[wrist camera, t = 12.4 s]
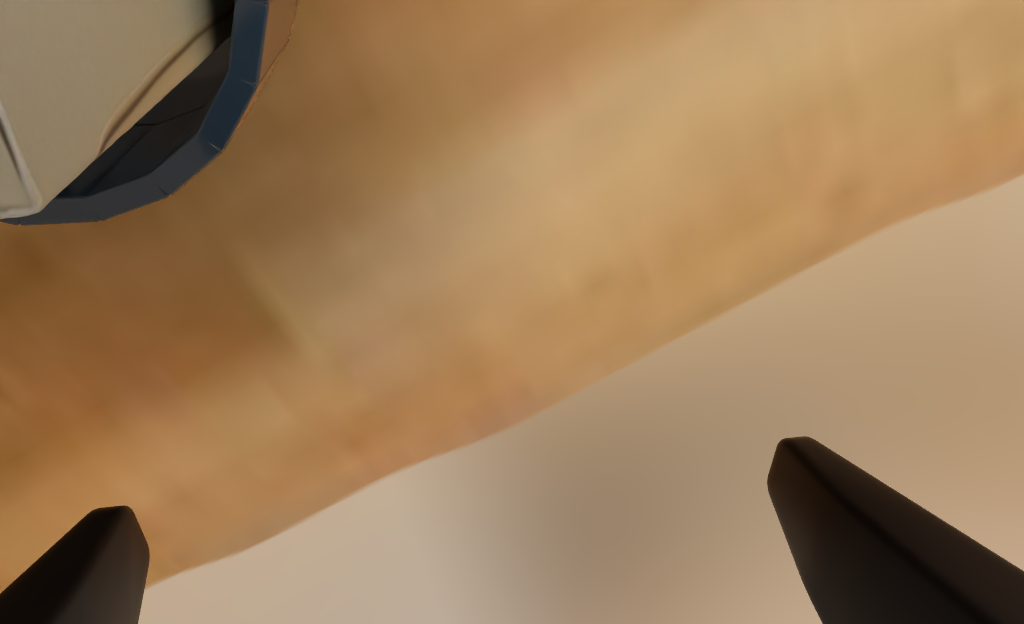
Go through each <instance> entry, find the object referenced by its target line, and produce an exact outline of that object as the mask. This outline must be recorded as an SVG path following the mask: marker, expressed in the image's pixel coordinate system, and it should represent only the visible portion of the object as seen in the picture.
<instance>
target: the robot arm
mask: <svg viewBox="0 0 1024 624" xmlns="http://www.w3.org/2000/svg"><path fill="white" fill-rule="evenodd" d="M767 485H768V491H769V495H770V497H771V500H772V503H773V505H774V508H775V511H776V513H777V516H778V519H779V521H780V524H781V526H782V529H783V531H784V534H785V537H786V539H787V542H788V545H789V547H790V550H791V553H792V555H793V558H794V561H795V563H796V566H797V569H798V571H799V574H800V576H801V579H802V581H803V584H804V586H805V588H806V590H807V593H808V595H809V597H810V599H811V601H812V603H813V605H814V607H815V609H816V611H817V613H818V615H819V617H820V619H821V621H822V623H823V624H1024V571H1023V570H1021V569H1019V568H1018V567H1016V566H1015V565H1013V564H1011V563H1010V562H1008V561H1007V560H1005V559H1004V558H1002V557H1000V556H999V555H997V554H996V553H994V552H992V551H991V550H989V549H988V548H986V547H984V546H983V545H981V544H979V543H978V542H976V541H975V540H973V539H971V538H970V537H969V536H967V535H965V534H964V533H962V532H961V531H959V530H957V529H956V528H954V527H953V526H951V525H949V524H948V523H946V522H945V521H943V520H941V519H940V518H938V517H937V516H935V515H934V514H932V513H930V512H929V511H927V510H926V509H924V508H922V507H921V506H919V505H918V504H916V503H914V502H913V501H911V500H910V499H908V498H907V497H905V496H903V495H902V494H900V493H899V492H897V491H895V490H894V489H892V488H891V487H889V486H887V485H886V484H884V483H883V482H881V481H880V480H878V479H876V478H875V477H873V476H872V475H870V474H868V473H866V472H865V471H864V470H862V469H860V468H859V467H857V466H856V465H854V464H852V463H851V462H849V461H848V460H846V459H844V458H843V457H841V456H840V455H838V454H836V453H835V452H833V451H832V450H830V449H828V448H827V447H825V446H824V445H822V444H821V443H819V442H818V441H816V440H814V439H812V438H810V437H794V438H785V439H782V440H781V441H780V442H779V443H778V445H777V448H776V451H775V455H774V458H773V461H772V465H771V468H770V471H769V474H768V480H767ZM149 557H150V556H149V547H148V544H147V541H146V539H145V537H144V535H143V532H142V530H141V528H140V525H139V523H138V521H137V519H136V516H135V514H134V512H133V511H132V509H131V508H130V507H128V506H114V507H105V508H98V509H95V510H93V511H91V512H90V513H88V514H87V515H86V516H85V517H84V518H83V519H82V520H81V521H79V522H78V523H77V524H76V525H75V526H74V527H73V528H72V529H71V530H70V531H69V532H67V533H66V534H65V535H64V536H63V537H62V538H61V539H60V540H59V541H58V542H56V543H55V544H54V545H53V546H52V547H51V548H50V549H49V550H48V551H47V552H46V553H44V554H43V555H42V556H41V557H40V558H39V559H38V560H37V561H36V562H35V563H33V564H32V565H31V566H30V567H29V568H28V569H27V570H26V571H25V572H24V573H23V574H21V575H20V576H19V577H18V578H17V579H16V580H15V581H14V582H13V583H12V584H10V585H9V586H8V587H7V588H6V589H5V590H4V591H3V592H2V593H1V594H0V624H138V620H139V615H140V609H141V604H142V599H143V593H144V588H145V583H146V577H147V572H148V567H149Z"/></svg>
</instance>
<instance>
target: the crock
mask: <svg viewBox="0 0 1024 624" xmlns="http://www.w3.org/2000/svg"><path fill="white" fill-rule="evenodd" d="M297 3H298V0H235V4H234V13H233V22H232V31H231V36H230V37H229V38H228V39H227V40H225V41H224V42H223V43H222V44H221V45H220V46H219V47H218V48H217V49H216V50H215V51H213V52H212V53H211V54H210V55H209V56H208V57H207V58H206V59H205V60H204V61H203V62H202V63H201V64H200V65H199V66H198V67H196V68H195V69H194V70H193V72H191V73H190V74H189V75H188V76H186V77H185V78H184V79H183V80H182V81H181V82H180V83H179V84H178V85H177V86H175V87H174V88H173V89H172V90H171V91H170V92H169V93H168V94H167V95H165V96H164V97H163V99H162V100H161V101H159V102H158V103H157V104H155V105H154V107H153V108H152V109H151V110H149V111H148V112H147V113H146V114H145V115H144V116H143V117H142V118H141V119H139V120H138V121H137V122H136V123H135V124H134V125H133V126H132V127H131V128H130V129H129V130H128V131H127V132H125V133H124V134H123V135H121V136H120V137H119V138H118V139H117V140H116V141H115V142H114V143H113V144H112V145H111V146H110V147H109V148H108V149H106V150H105V151H104V152H103V153H102V154H101V155H100V156H99V157H98V158H97V159H96V160H94V161H93V162H92V163H91V164H90V165H89V166H88V167H87V168H86V169H85V170H84V171H83V172H82V173H81V174H80V175H79V176H78V177H77V178H75V179H74V180H73V181H72V182H71V183H70V184H69V185H68V186H67V187H65V188H64V189H63V190H62V191H61V192H60V193H59V194H58V195H57V196H56V197H54V198H53V199H52V200H51V201H50V202H49V203H48V204H47V205H46V206H45V208H44V209H42V210H41V211H40V212H38V213H35V214H32V215H28V216H23V217H14V218H4V219H0V222H4V223H9V224H14V225H19V224H21V225H42V224H62V223H82V222H98V221H100V220H101V221H104V220H107V219H110V218H113V217H115V216H118V215H121V214H124V213H126V212H129V211H132V210H135V209H137V208H140V207H143V206H146V205H148V204H151V203H154V202H157V201H159V200H162V199H165V198H167V197H168V196H169V195H172V194H174V193H175V192H176V191H177V190H178V189H180V188H181V187H182V186H183V185H184V184H186V183H187V182H188V181H189V180H190V179H191V178H193V177H194V176H195V175H196V174H197V173H199V172H200V171H201V170H202V169H203V168H204V167H206V166H207V165H208V164H209V163H210V162H212V161H213V160H214V159H215V158H216V157H217V156H219V155H220V154H221V153H222V151H223V150H224V149H225V148H226V147H227V145H228V143H229V142H230V140H231V139H232V137H233V135H234V134H235V132H236V131H237V129H238V128H239V126H240V124H241V123H242V121H243V120H244V118H245V116H246V115H247V113H248V112H249V110H250V109H251V107H252V105H253V104H254V102H255V101H256V99H257V97H258V96H259V94H260V93H261V91H262V90H263V88H264V86H265V84H266V82H267V80H268V79H269V77H270V75H271V73H272V71H273V69H274V68H275V66H276V64H277V63H278V60H279V58H280V56H281V54H282V53H283V51H284V49H285V47H286V45H287V43H288V41H289V37H290V35H291V29H292V26H293V22H294V19H295V14H296V8H297Z"/></svg>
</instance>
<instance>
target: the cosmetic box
mask: <svg viewBox="0 0 1024 624" xmlns="http://www.w3.org/2000/svg"><path fill="white" fill-rule="evenodd" d="M234 4H235V0H0V219H4V218H14V217H23V216H28V215H32V214H35V213H38V212H40V211H41V210H42V209H44V208H45V206H46V205H47V204H48V203H49V202H50V201H51V200H52V199H53V198H54V197H56V196H57V195H58V194H59V193H60V192H61V191H62V190H63V189H64V188H65V187H67V186H68V185H69V184H70V183H71V182H72V181H73V180H74V179H75V178H77V177H78V176H79V175H80V174H81V173H82V172H83V171H84V170H85V169H86V168H87V167H88V166H89V165H90V164H91V163H92V162H93V161H94V160H96V159H97V158H98V157H99V156H100V155H101V154H102V153H103V152H104V151H105V150H106V149H108V148H109V147H110V146H111V145H112V144H113V143H114V142H115V141H116V140H117V139H118V138H119V137H120V136H121V135H123V134H124V133H125V132H127V131H128V130H129V129H130V128H131V127H132V126H133V125H134V124H135V123H136V122H137V121H138V120H139V119H141V118H142V117H143V116H144V115H145V114H146V113H147V112H148V111H149V110H151V109H152V108H153V107H154V105H155V104H157V103H158V102H159V101H161V100H162V99H163V97H164V96H165V95H167V94H168V93H169V92H170V91H171V90H172V89H173V88H174V87H175V86H177V85H178V84H179V83H180V82H181V81H182V80H183V79H184V78H185V77H186V76H188V75H189V74H190V73H191V72H193V70H194V69H195V68H196V67H198V66H199V65H200V64H201V63H202V62H203V61H204V60H205V59H206V58H207V57H208V56H209V55H210V54H211V53H212V52H213V51H215V50H216V49H217V48H218V47H219V46H220V45H221V44H222V43H223V42H224V41H225V40H227V39H228V38H229V37H230V36H231V31H232V22H233V13H234Z"/></svg>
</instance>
